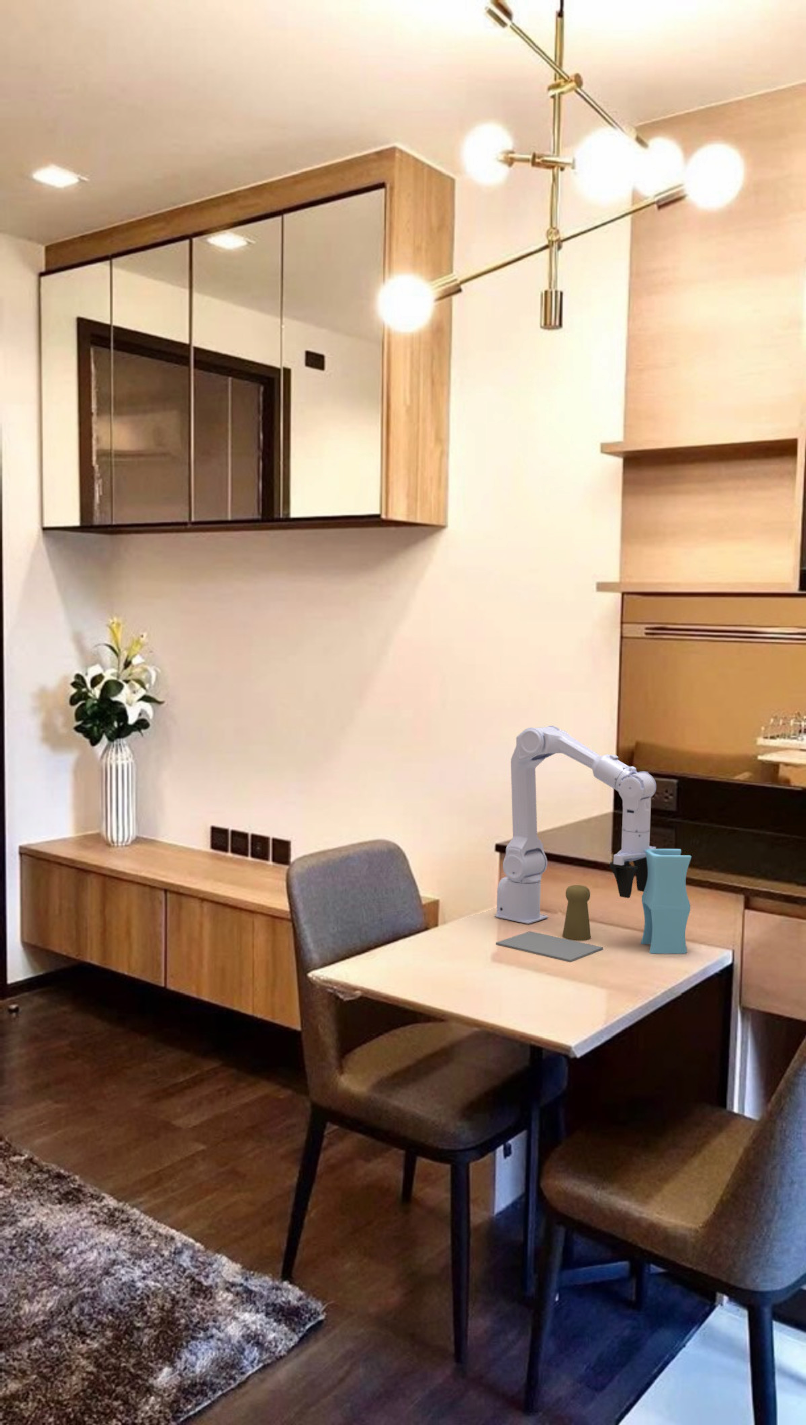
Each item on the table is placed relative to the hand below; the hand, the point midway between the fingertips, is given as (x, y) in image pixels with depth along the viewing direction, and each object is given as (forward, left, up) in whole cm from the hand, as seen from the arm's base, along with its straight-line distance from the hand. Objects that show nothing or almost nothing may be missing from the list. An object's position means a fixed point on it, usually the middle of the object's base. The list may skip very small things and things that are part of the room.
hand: (633, 894), depth 229 cm
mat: (-10, -16, -10) cm, 22 cm away
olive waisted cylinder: (-10, -5, -10) cm, 16 cm away
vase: (+8, 0, -10) cm, 13 cm away
